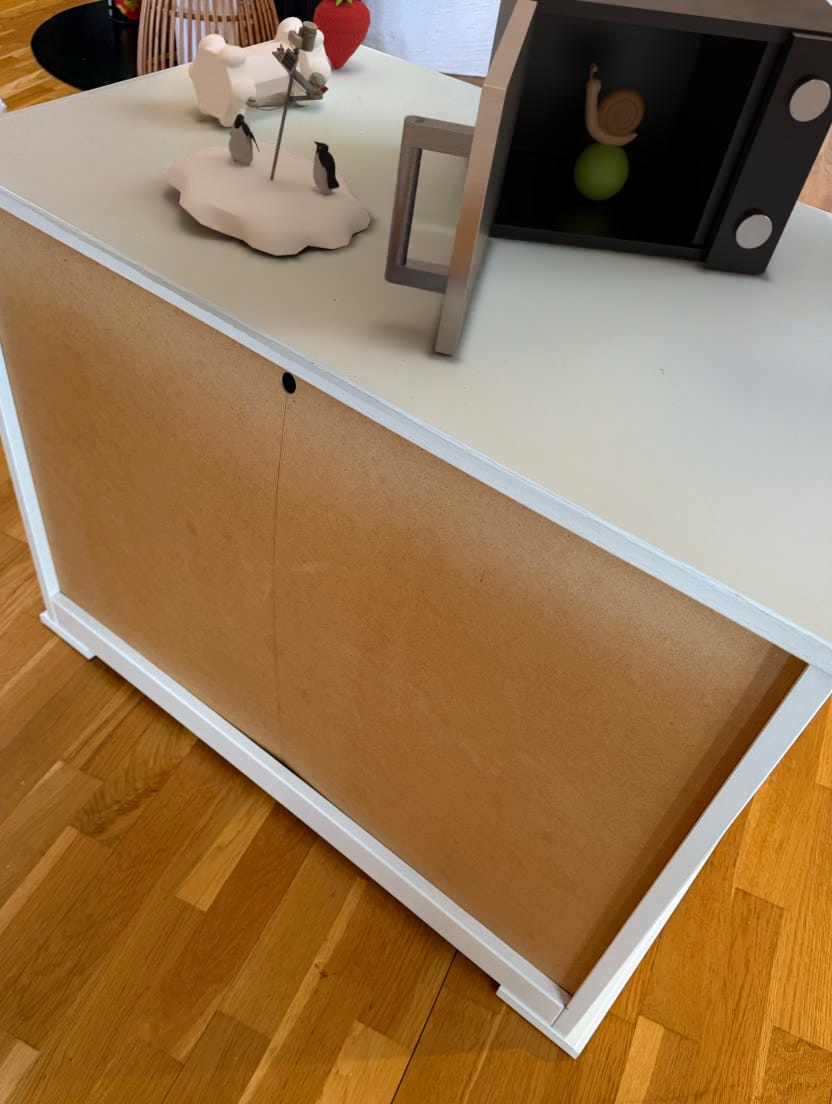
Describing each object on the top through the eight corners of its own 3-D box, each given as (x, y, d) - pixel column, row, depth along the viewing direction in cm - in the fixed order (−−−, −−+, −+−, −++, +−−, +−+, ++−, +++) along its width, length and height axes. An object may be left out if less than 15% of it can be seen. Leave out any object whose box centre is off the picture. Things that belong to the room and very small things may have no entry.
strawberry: (375, 73, 117) (385, -20, 109) (326, 80, 114) (332, -16, 106) (350, 57, 120) (357, -35, 112) (301, 64, 117) (305, -31, 109)
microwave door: (371, 338, 75) (403, 70, 61) (418, 226, 90) (454, -14, 75) (453, 355, 75) (506, 89, 60) (488, 240, 89) (537, 1, 74)
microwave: (765, 280, 89) (871, 46, 74) (480, 246, 88) (529, 2, 73) (717, 183, 104) (798, -29, 89) (472, 153, 103) (512, -66, 88)
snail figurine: (554, 183, 97) (586, 54, 88) (614, 189, 97) (652, 61, 88) (561, 206, 93) (596, 74, 84) (623, 212, 94) (664, 81, 85)
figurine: (122, 188, 87) (120, -11, 74) (250, 142, 97) (267, -40, 85) (283, 287, 82) (310, 91, 69) (400, 227, 92) (442, 47, 79)
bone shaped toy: (281, 86, 111) (284, 7, 105) (333, 110, 108) (338, 30, 101) (185, 112, 103) (182, 28, 97) (237, 138, 100) (237, 53, 94)
